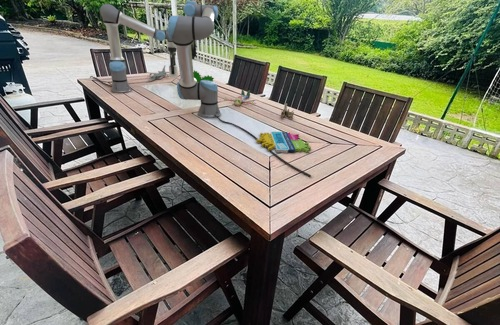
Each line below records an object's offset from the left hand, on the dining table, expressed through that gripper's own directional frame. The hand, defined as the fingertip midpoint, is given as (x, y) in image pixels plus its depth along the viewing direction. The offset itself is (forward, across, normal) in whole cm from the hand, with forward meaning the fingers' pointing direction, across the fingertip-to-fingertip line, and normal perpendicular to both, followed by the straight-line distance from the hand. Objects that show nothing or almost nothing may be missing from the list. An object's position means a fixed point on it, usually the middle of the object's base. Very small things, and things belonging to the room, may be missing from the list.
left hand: (173, 73), depth 247 cm
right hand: (-22, +49, +24) cm, 58 cm away
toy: (+11, +44, +63) cm, 78 cm away
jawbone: (+11, +80, +94) cm, 123 cm away
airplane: (+12, -30, -21) cm, 38 cm away
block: (+4, 0, 0) cm, 4 cm away
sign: (+11, +126, +82) cm, 150 cm away
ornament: (+12, +6, +28) cm, 30 cm away
